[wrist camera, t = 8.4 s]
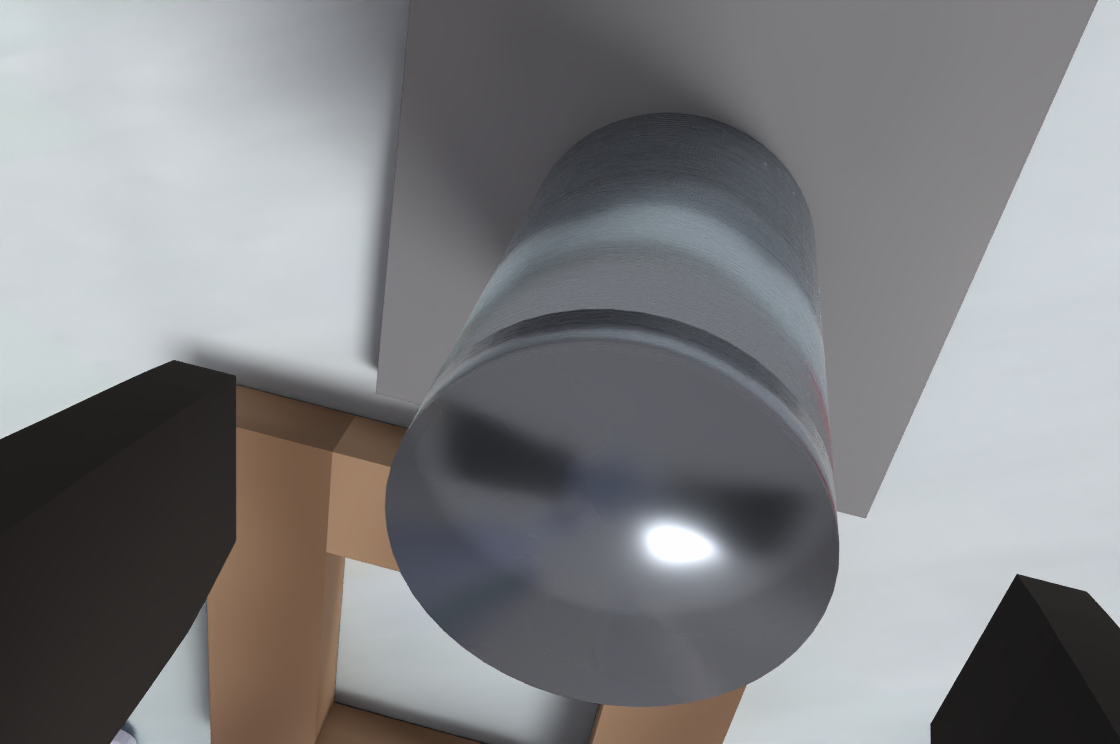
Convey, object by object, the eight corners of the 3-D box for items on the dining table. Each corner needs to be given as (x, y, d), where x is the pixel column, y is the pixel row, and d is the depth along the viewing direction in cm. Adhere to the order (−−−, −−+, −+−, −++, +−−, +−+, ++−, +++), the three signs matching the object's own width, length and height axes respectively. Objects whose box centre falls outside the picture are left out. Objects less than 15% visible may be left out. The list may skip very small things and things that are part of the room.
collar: (234, 740, 26) (211, 781, 24) (231, 383, 20) (202, 417, 19) (660, 860, 25) (654, 906, 24) (792, 527, 19) (793, 571, 18)
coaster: (384, 379, 19) (375, 393, 18) (434, -158, 14) (423, -156, 13) (863, 501, 18) (865, 518, 18) (1091, -16, 13) (1100, -7, 13)
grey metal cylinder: (504, 334, 17) (362, 636, 11) (560, 77, 15) (416, 292, 9) (761, 407, 17) (751, 753, 11) (860, 159, 15) (915, 433, 9)
